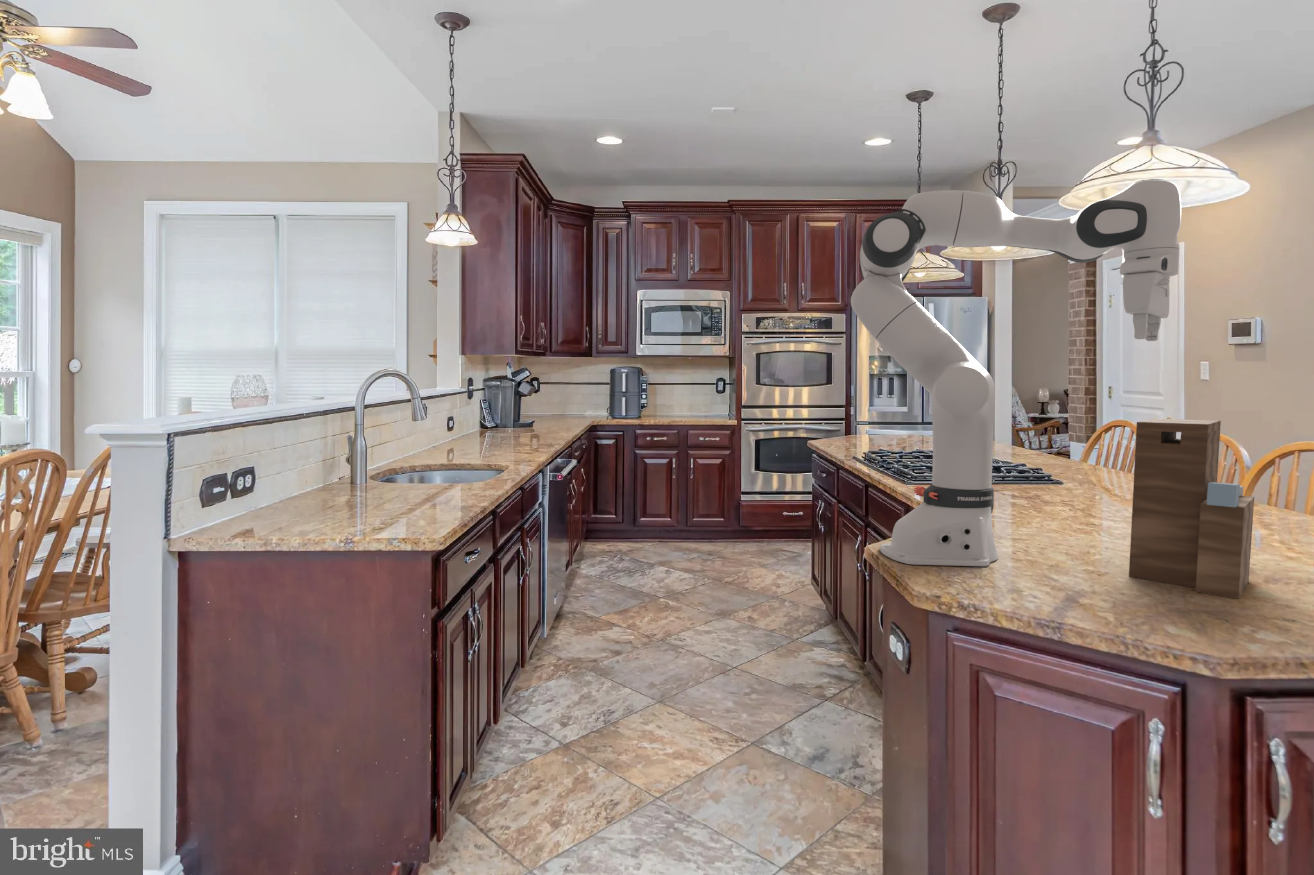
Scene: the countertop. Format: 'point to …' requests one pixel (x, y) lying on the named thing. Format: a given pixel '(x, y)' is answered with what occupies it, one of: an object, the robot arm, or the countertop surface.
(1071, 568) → the countertop surface
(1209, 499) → the plug
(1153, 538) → the stand
